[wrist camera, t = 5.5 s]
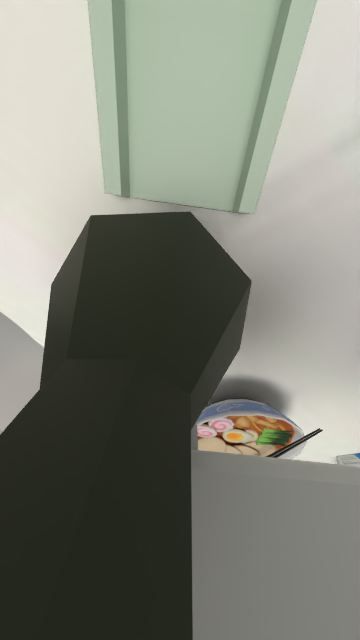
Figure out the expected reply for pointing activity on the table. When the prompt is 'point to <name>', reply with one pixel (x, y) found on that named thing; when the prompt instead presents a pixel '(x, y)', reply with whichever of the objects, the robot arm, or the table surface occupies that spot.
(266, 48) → the tray
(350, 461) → the ink box
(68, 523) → the wine bottle
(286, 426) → the ramen bowl
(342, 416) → the table surface
